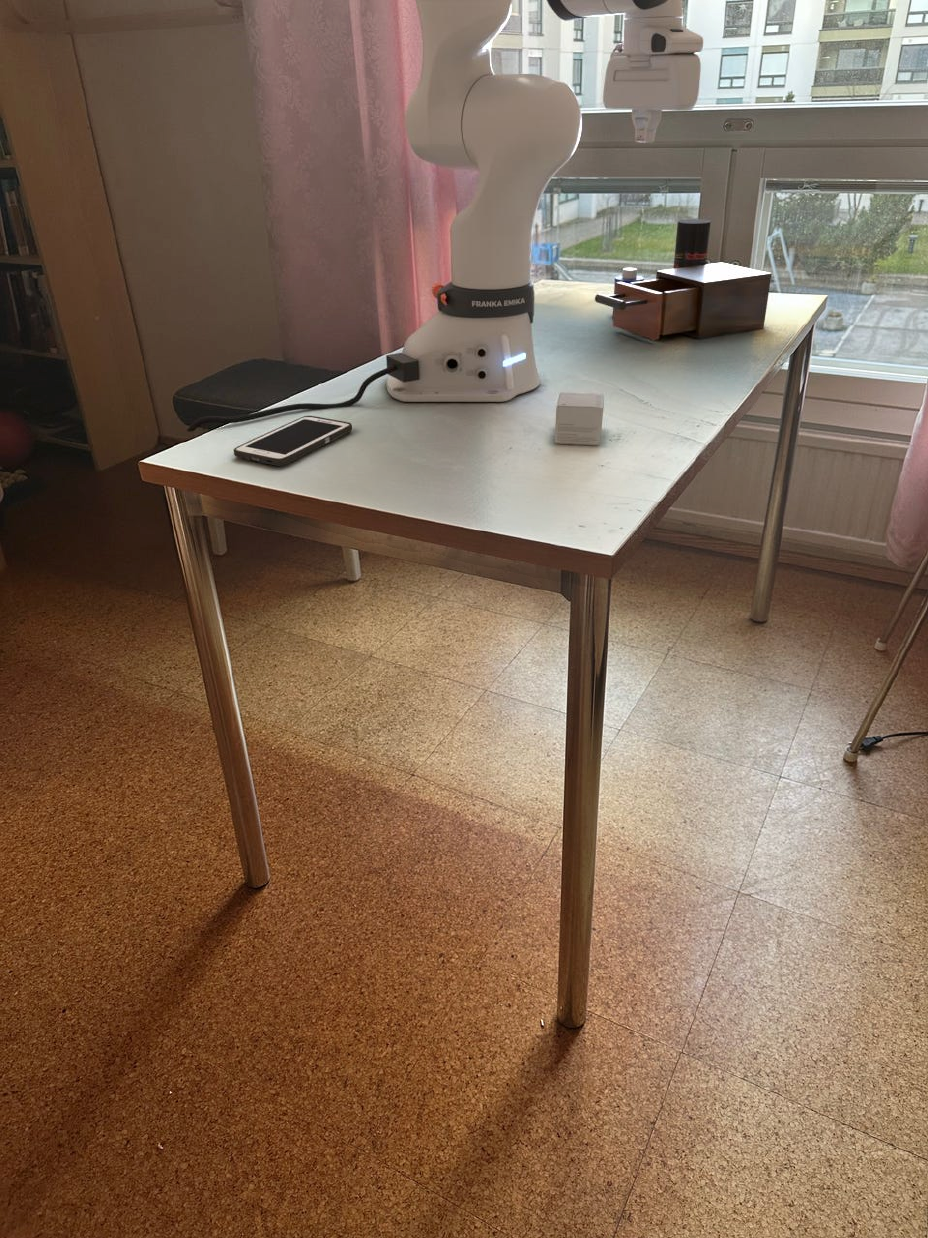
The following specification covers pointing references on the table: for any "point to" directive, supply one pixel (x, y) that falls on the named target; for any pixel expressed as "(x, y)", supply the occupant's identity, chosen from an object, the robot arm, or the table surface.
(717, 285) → the drawer box
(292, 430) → the cell phone
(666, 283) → the wooden drawer
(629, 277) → the detergent bottle
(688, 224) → the deodorant
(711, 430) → the table surface
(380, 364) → the table surface
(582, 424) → the small box
